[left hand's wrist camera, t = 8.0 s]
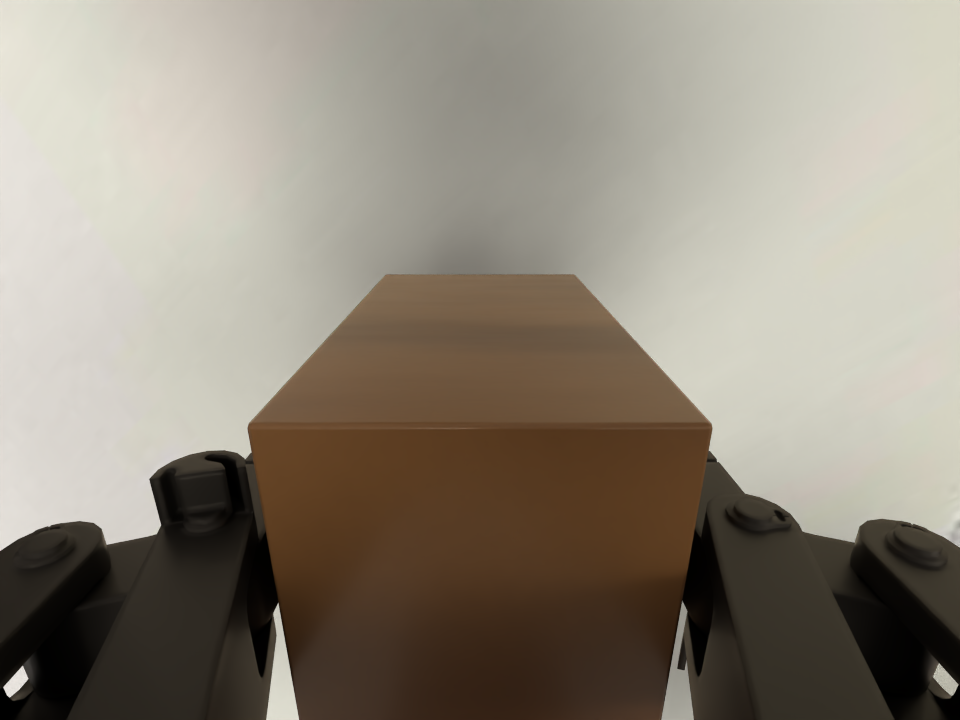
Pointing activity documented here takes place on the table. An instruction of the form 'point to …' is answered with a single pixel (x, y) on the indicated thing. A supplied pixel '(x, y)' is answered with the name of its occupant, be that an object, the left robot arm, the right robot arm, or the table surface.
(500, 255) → the table surface
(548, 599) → the bar
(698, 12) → the table surface
